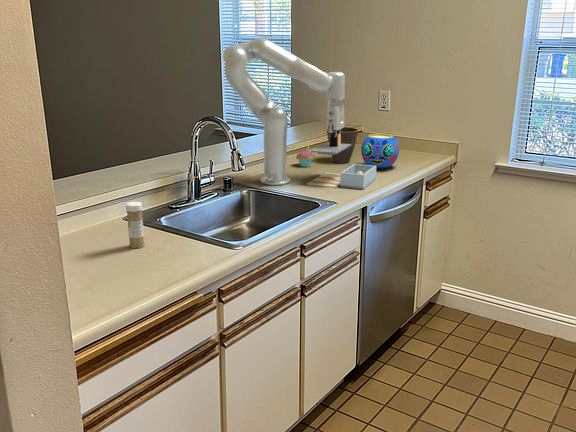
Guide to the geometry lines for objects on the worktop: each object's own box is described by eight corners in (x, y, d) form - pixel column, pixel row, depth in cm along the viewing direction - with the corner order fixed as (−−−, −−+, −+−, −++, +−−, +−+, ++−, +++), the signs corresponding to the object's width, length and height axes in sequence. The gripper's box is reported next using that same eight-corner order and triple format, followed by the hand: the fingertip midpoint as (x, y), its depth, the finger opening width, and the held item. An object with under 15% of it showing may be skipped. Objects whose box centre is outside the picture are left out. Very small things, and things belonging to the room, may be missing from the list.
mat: (336, 187, 242) (336, 186, 242) (306, 184, 248) (306, 183, 247) (352, 176, 262) (352, 175, 261) (325, 173, 267) (325, 172, 267)
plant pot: (335, 157, 299) (336, 125, 294) (362, 161, 291) (363, 128, 286) (320, 162, 287) (321, 130, 282) (347, 166, 279) (348, 133, 274)
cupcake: (317, 165, 282) (317, 140, 278) (308, 168, 275) (308, 143, 272) (301, 163, 286) (302, 138, 283) (292, 166, 280) (292, 141, 276)
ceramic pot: (357, 170, 272) (358, 138, 267) (364, 162, 288) (365, 131, 283) (395, 172, 267) (397, 140, 262) (400, 164, 283) (402, 133, 279)
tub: (363, 189, 240) (363, 175, 238) (340, 186, 244) (340, 172, 242) (375, 179, 256) (376, 165, 254) (353, 177, 259) (354, 163, 258)
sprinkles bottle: (130, 243, 180) (127, 201, 176) (145, 243, 181) (142, 200, 177) (128, 249, 176) (124, 205, 172) (143, 248, 177) (140, 205, 172)
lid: (336, 156, 240) (336, 140, 238) (311, 154, 245) (311, 138, 243) (351, 147, 257) (351, 132, 255) (327, 146, 261) (327, 131, 259)
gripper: (337, 105, 240) (336, 149, 245) (350, 100, 254) (349, 142, 259) (320, 104, 243) (319, 148, 248) (333, 99, 257) (333, 141, 262)
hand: (334, 145), depth 254 cm, fingers closed on lid, 3 cm apart
